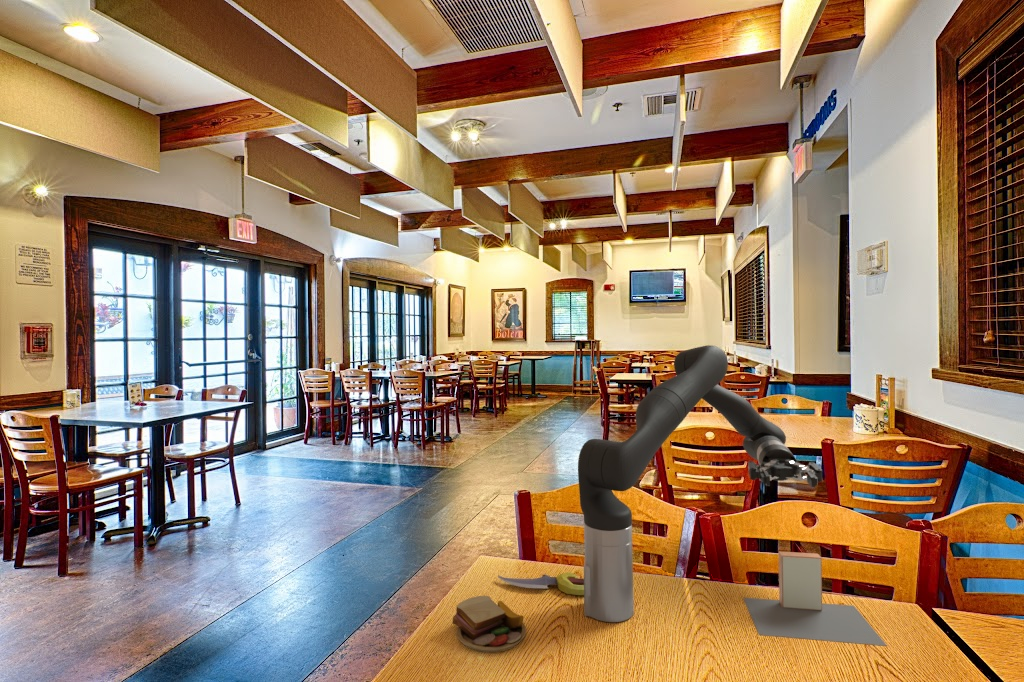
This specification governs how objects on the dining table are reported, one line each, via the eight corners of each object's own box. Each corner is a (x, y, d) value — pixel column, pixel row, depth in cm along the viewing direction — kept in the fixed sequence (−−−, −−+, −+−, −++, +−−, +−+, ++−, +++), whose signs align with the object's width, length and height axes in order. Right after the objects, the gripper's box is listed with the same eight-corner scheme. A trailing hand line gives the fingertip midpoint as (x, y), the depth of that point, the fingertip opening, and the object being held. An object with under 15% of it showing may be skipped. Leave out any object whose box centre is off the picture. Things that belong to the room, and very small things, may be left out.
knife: (492, 593, 117) (612, 600, 113) (492, 581, 117) (612, 587, 113) (499, 577, 125) (612, 583, 121) (499, 566, 125) (611, 571, 121)
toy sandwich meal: (476, 664, 91) (475, 636, 91) (443, 628, 103) (443, 603, 103) (539, 642, 98) (539, 615, 98) (502, 610, 109) (501, 586, 109)
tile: (782, 607, 106) (781, 555, 106) (779, 602, 108) (778, 551, 108) (822, 611, 104) (821, 558, 104) (818, 605, 106) (817, 553, 106)
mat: (759, 640, 97) (759, 634, 97) (743, 602, 110) (743, 597, 110) (887, 651, 92) (887, 645, 92) (854, 610, 106) (853, 605, 106)
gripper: (742, 443, 132) (753, 463, 116) (808, 444, 128) (828, 465, 112) (743, 474, 132) (754, 498, 117) (809, 475, 129) (829, 501, 113)
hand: (790, 482), depth 115 cm, fingers open, 8 cm apart
